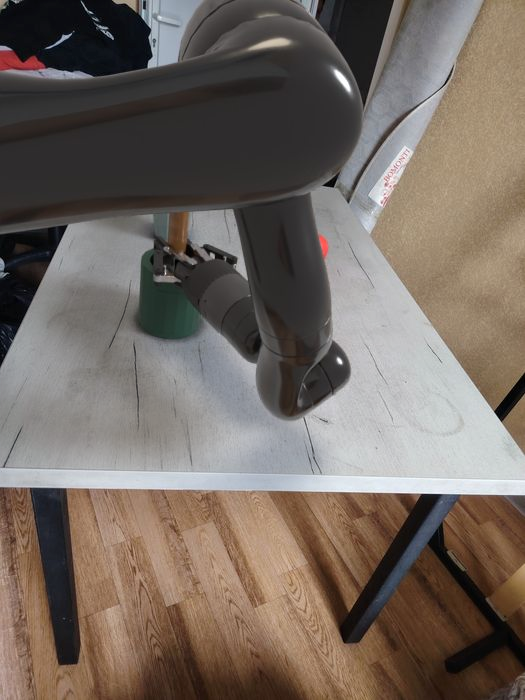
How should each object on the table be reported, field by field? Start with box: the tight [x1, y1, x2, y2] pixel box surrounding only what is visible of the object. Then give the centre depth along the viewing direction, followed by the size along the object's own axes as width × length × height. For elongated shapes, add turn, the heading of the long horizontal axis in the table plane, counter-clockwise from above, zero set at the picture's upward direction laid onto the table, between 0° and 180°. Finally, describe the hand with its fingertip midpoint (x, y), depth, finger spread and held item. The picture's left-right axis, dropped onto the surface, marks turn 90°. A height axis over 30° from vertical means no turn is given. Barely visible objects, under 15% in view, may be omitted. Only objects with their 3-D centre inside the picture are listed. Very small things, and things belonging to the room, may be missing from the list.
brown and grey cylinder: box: [166, 212, 190, 273], centre depth 72 cm, size 4×4×18 cm
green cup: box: [138, 247, 202, 340], centre depth 76 cm, size 10×10×11 cm
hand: (167, 240), depth 73 cm, fingers closed on brown and grey cylinder, 3 cm apart
